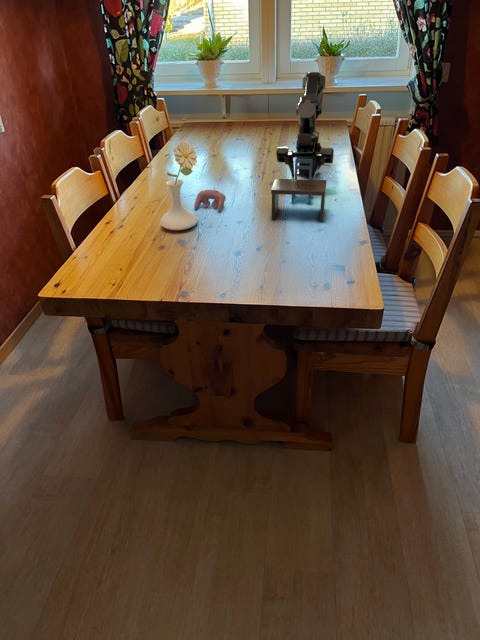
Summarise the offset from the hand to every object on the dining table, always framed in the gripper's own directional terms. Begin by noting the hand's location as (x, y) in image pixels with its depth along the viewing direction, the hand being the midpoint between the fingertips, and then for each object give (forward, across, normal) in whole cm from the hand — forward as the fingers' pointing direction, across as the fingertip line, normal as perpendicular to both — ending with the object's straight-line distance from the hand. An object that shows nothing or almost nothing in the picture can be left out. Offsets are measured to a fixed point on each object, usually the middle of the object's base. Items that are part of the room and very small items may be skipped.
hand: (302, 178), depth 164 cm
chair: (+6, 0, +4) cm, 7 cm away
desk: (+15, 0, -5) cm, 16 cm away
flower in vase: (+23, -35, -13) cm, 44 cm away
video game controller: (+13, -29, -3) cm, 32 cm away
